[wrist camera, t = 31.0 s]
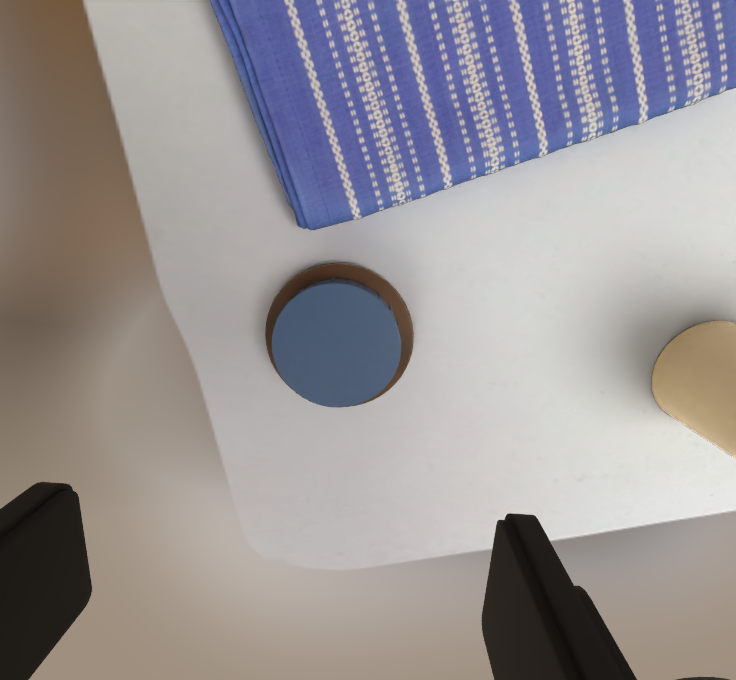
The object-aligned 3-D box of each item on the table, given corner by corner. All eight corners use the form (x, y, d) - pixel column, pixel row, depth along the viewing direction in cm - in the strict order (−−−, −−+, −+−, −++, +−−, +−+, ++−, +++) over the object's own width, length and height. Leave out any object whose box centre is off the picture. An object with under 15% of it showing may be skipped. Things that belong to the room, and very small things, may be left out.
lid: (278, 273, 24) (270, 277, 22) (405, 282, 24) (408, 287, 22) (278, 391, 26) (270, 404, 24) (395, 399, 26) (396, 412, 24)
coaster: (406, 407, 27) (407, 411, 26) (268, 399, 27) (265, 403, 26) (419, 267, 24) (420, 268, 24) (266, 258, 24) (263, 259, 24)
